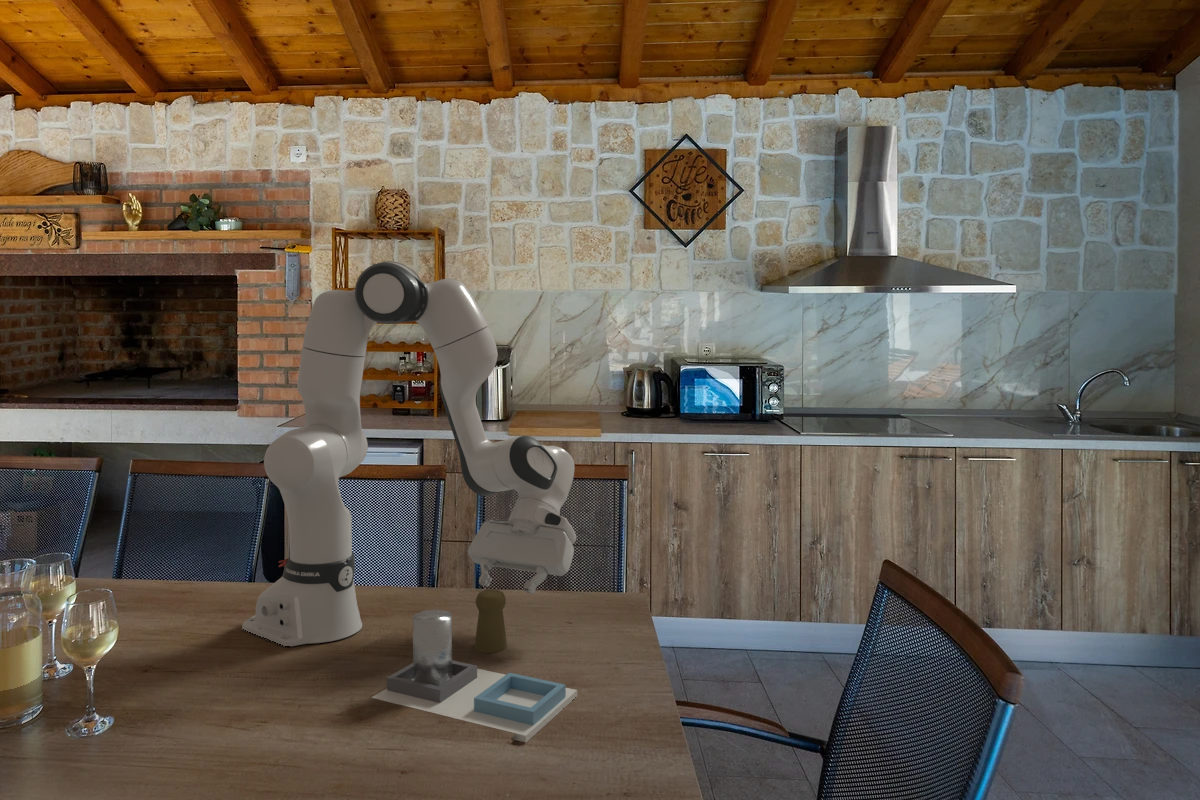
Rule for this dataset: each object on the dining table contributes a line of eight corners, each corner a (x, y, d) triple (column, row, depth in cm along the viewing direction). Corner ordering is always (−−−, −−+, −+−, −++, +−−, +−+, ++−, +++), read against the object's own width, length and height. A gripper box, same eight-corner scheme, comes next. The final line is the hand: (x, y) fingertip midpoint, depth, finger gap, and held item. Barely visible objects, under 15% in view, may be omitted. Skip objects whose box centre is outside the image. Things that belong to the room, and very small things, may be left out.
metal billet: (405, 687, 129) (404, 619, 128) (428, 673, 135) (428, 607, 134) (437, 695, 127) (436, 625, 126) (459, 680, 132) (459, 613, 131)
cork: (501, 660, 143) (501, 598, 142) (468, 657, 144) (468, 595, 143) (512, 647, 149) (512, 587, 148) (480, 644, 150) (480, 584, 149)
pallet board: (371, 703, 126) (371, 684, 126) (434, 665, 140) (434, 647, 140) (525, 742, 115) (525, 721, 114) (577, 696, 129) (577, 677, 129)
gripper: (479, 508, 160) (450, 571, 152) (574, 519, 151) (548, 587, 143) (491, 526, 164) (464, 588, 156) (584, 538, 156) (560, 604, 148)
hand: (505, 588), depth 150 cm, fingers open, 8 cm apart
